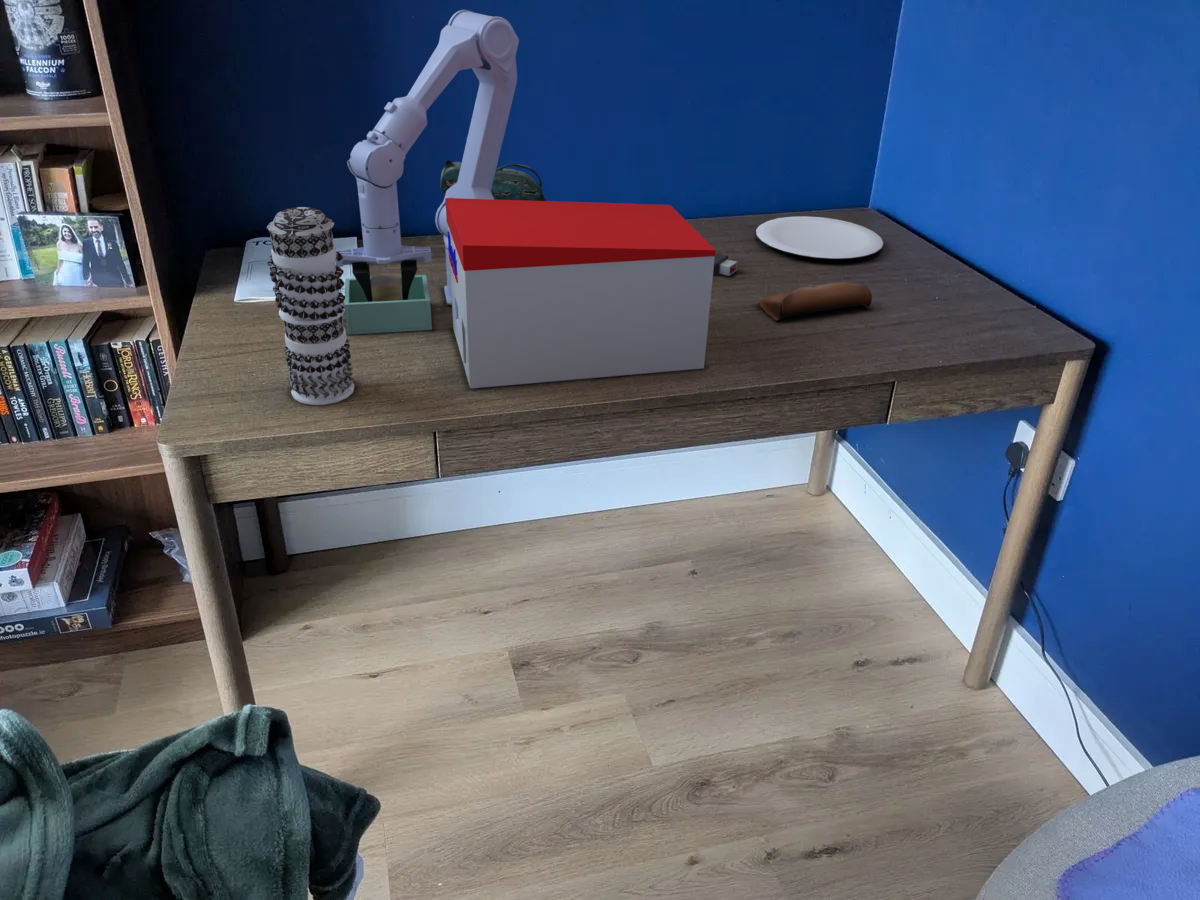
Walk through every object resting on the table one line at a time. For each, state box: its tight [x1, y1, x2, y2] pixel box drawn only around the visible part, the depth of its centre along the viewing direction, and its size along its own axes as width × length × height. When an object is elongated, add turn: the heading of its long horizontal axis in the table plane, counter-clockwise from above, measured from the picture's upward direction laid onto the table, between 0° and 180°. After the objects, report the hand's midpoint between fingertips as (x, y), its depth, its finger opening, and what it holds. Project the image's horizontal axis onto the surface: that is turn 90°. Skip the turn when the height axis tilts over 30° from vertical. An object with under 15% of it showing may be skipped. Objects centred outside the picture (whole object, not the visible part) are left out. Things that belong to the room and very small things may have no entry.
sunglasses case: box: [757, 282, 873, 321], centre depth 161 cm, size 18×7×7 cm, turn 113°
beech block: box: [370, 274, 403, 302], centre depth 152 cm, size 5×5×6 cm
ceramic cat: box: [439, 159, 547, 201], centre depth 176 cm, size 20×6×20 cm, turn 104°
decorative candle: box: [266, 206, 355, 406], centre depth 125 cm, size 9×9×25 cm
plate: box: [755, 215, 884, 261], centre depth 190 cm, size 25×25×2 cm
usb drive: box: [713, 252, 738, 277], centre depth 176 cm, size 5×12×3 cm, turn 58°
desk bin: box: [343, 274, 433, 336], centre depth 152 cm, size 13×11×5 cm
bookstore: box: [444, 197, 717, 389], centre depth 140 cm, size 21×35×21 cm, turn 104°
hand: (388, 306), depth 152 cm, fingers closed on beech block, 4 cm apart
